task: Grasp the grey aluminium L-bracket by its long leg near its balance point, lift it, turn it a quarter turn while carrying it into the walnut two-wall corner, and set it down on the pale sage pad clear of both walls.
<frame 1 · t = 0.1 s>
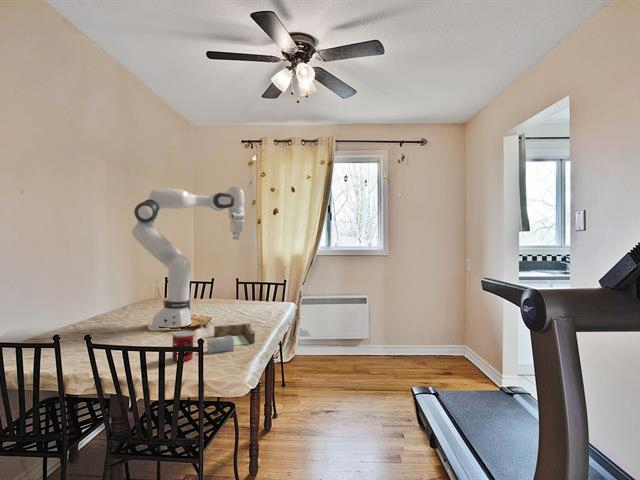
hand: (235, 239, 211), 48 cm above the table, fingers open, 8 cm apart
arena: (235, 340, 178), on the table
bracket: (220, 350, 162), on the table
canned food: (182, 359, 151), on the table
pad: (232, 340, 177), on the table
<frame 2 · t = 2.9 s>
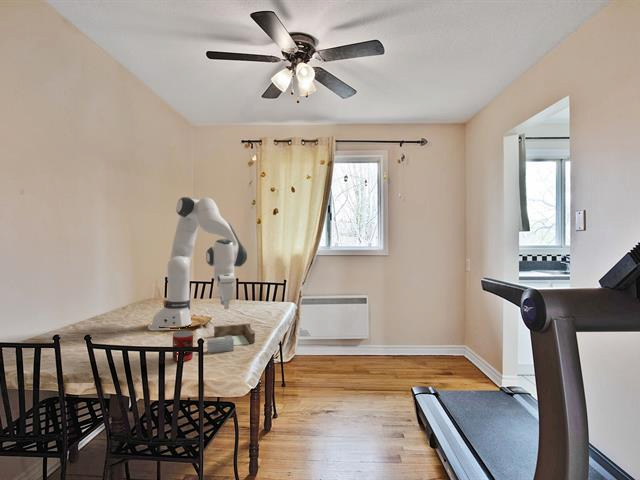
hand: (224, 306, 162), 20 cm above the table, fingers open, 8 cm apart
nothing on the table moved.
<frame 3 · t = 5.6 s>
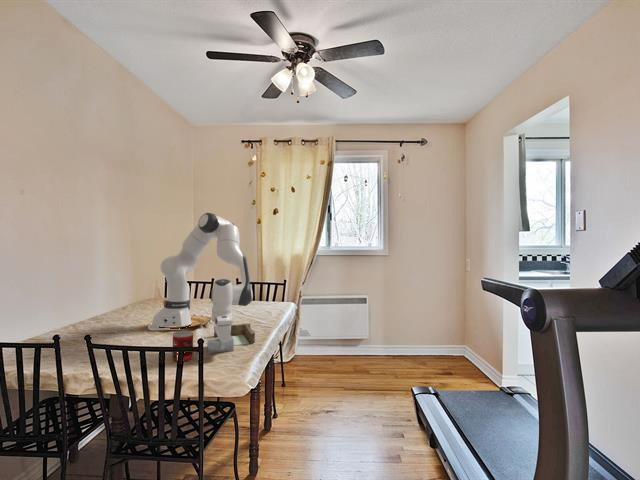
hand: (221, 347, 162), 2 cm above the table, fingers closed on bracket, 3 cm apart
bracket: (220, 350, 162), on the table, touching gripper
everything else where it was.
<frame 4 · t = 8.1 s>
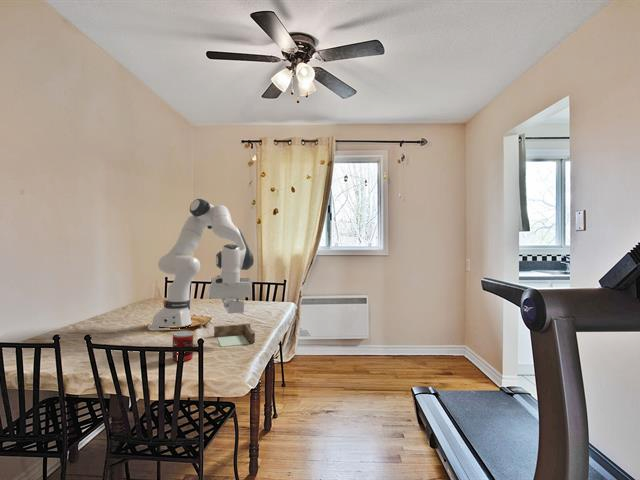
hand: (230, 307, 175), 17 cm above the table, fingers closed on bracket, 3 cm apart
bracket: (229, 310, 175), point 15 cm above the table, touching gripper
everything else where it was.
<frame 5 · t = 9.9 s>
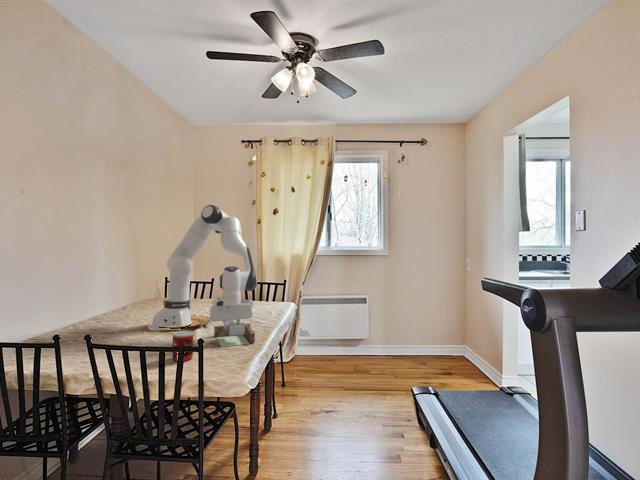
hand: (231, 328, 176), 6 cm above the table, fingers closed on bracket, 3 cm apart
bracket: (230, 332, 176), point 4 cm above the table, touching gripper
everything else where it was.
when the fingers open (2 cm above the table, at t = 11.0 s): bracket stays where it is, resting on pad.
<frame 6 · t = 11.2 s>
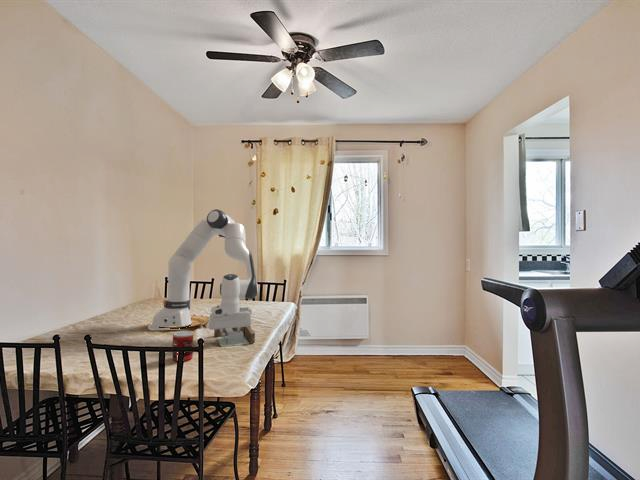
hand: (229, 336, 176), 2 cm above the table, fingers open, 5 cm apart
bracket: (229, 340, 176), resting on pad
everything else where it was.
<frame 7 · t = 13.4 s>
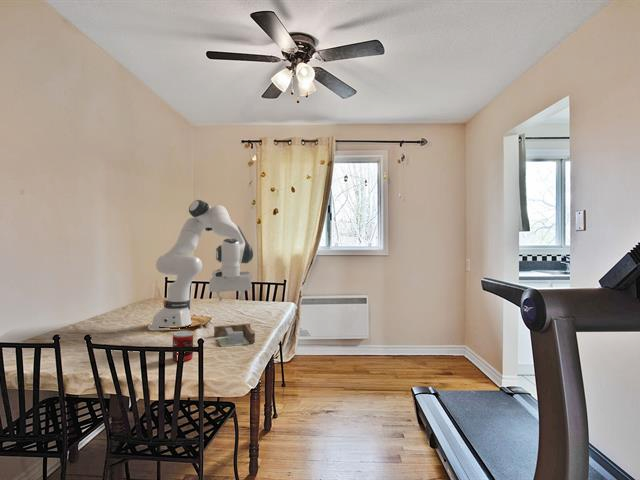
hand: (230, 300, 178), 20 cm above the table, fingers open, 8 cm apart
nothing on the table moved.
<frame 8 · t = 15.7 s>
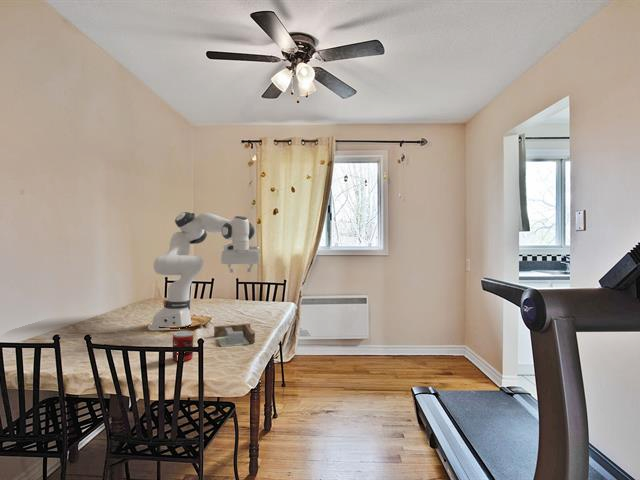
hand: (240, 272, 195), 31 cm above the table, fingers open, 8 cm apart
nothing on the table moved.
at the end: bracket inside the target area (1.0 cm from its centre), resting on pad; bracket touching pad; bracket tilted 0° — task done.
